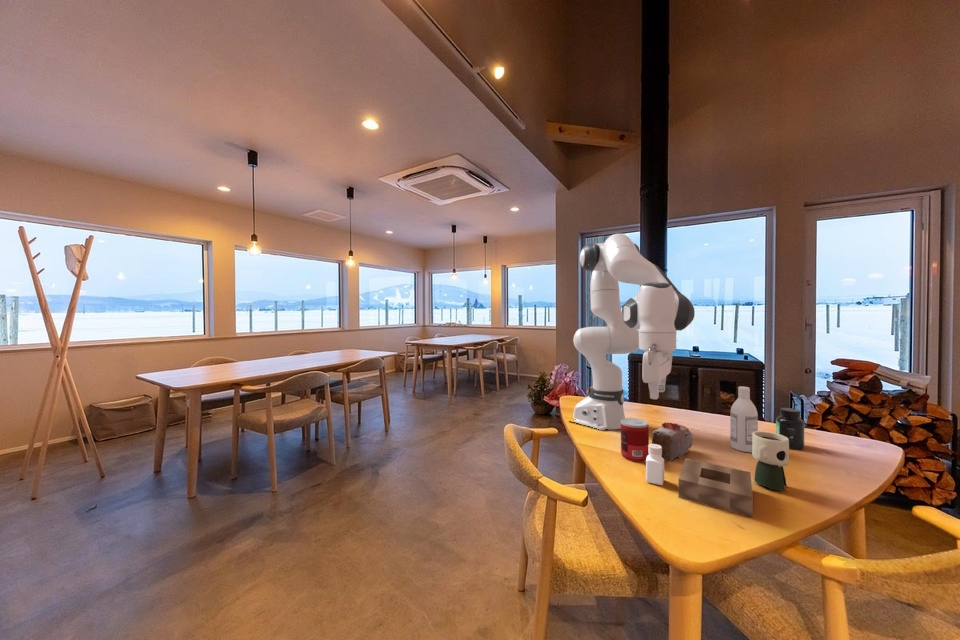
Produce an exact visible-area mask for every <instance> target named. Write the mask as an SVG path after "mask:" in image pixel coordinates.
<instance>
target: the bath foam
mask: <svg viewBox="0 0 960 640" xmlns="http://www.w3.org/2000/svg"><path fill="white" fill-rule="evenodd" d="M750 391H751V388H750V387H748V386H741V385H740V386H738V387H737V392H738V393H737V395H738V397H737V399H736V400H735V401H734V402H733V403H732V405H731V407H730V411H729V412H730V413H729V414H730V419H729V420H730V428H729V429H730V430H729V431H730V434H729V435H730V436H729V437H730V447H731V448H733V450H737V451H739V452H743V453H751V454H752V433H753V432H756V431H759V427H758V426H759V414H758V410H757V408H756V407H757V406H755V404H754V402H753V401H752V400H751V396H750V394H751V392H750Z"/></svg>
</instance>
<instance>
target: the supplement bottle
mask: <svg viewBox="0 0 960 640" xmlns="http://www.w3.org/2000/svg"><path fill="white" fill-rule="evenodd" d="M775 433H777V434H780V435H783V436H785V437H787V438H788V439H789V450H792V451H793V450H794V451H800V450H804V449H805V421H804V420H803V419H802V418H801V410H799V409H796V408H790V407H780V410H779V415H778V416H777V417H776V419H775Z"/></svg>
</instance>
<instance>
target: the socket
mask: <svg viewBox="0 0 960 640" xmlns="http://www.w3.org/2000/svg"><path fill="white" fill-rule="evenodd" d="M751 473H752V472H750V471H747V470H742V469H737V468H734V467H728V466H723V465H721V464H720V465H719V464H715V463H710V462H706V461H705V462H704V461H700V460H696V459H692V458H686V457H685V458H684V461H683V465H682V468H681V471H680V473H679V476H678V498H680V499H684V500H688V501H692V502H694V503H695V502H696V503H699V504H702V505H706V506H709V507H713V508H717V509H721V510H723V511H727V512H731V513H734V514H737V515H741V516H745V517H750V518H752V519H753V518H754V517H753V511H754V510H753V509H754V508H753V505H754V503H753V501H754V500H753V499H754V498H753V485H752V474H751Z"/></svg>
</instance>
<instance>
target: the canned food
mask: <svg viewBox="0 0 960 640" xmlns="http://www.w3.org/2000/svg"><path fill="white" fill-rule="evenodd" d="M649 425H650V424H649V421H647V420H645V419H642V418H637V417H625V419H622V420H621V429H620V452H621V456H622V457H623V458H624V459H625V460H628V461H631V462H636V463H637V462H646V458H647V456H648V455H649V452H648V445H649V444H650V442H649V440H650V437H649V436H650V431H649V430H650V429H649V427H650V426H649Z"/></svg>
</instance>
